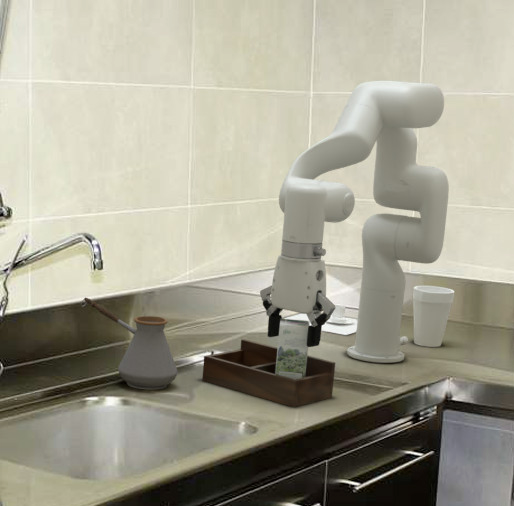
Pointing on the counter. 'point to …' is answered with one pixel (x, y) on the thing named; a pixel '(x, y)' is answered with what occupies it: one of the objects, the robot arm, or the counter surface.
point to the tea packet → (292, 348)
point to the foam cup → (431, 314)
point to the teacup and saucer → (334, 322)
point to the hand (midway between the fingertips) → (293, 340)
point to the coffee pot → (145, 352)
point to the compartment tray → (268, 375)
